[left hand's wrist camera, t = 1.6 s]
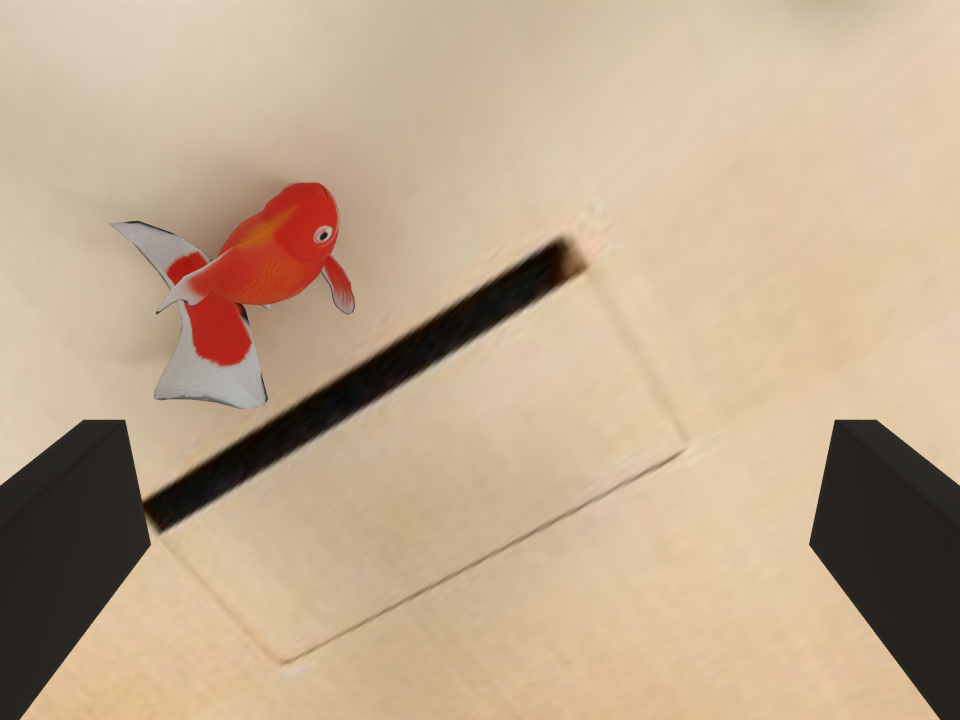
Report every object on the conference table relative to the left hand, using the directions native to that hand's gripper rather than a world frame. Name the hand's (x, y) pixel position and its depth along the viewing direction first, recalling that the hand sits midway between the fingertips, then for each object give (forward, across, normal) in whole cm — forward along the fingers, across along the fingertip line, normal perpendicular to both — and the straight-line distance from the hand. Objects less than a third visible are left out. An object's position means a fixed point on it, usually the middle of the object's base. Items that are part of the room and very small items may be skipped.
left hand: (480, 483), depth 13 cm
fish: (+26, -13, -3) cm, 29 cm away
